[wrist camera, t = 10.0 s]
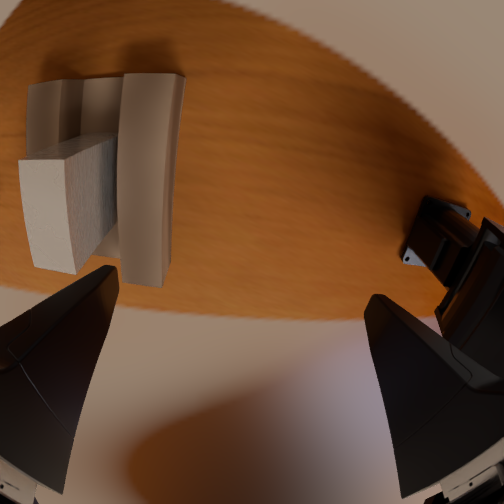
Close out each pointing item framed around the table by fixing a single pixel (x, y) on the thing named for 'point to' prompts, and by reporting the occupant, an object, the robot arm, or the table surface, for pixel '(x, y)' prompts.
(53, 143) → the grey u-channel
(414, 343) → the robot arm
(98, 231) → the brushed metal bar
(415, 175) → the table surface
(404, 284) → the table surface
